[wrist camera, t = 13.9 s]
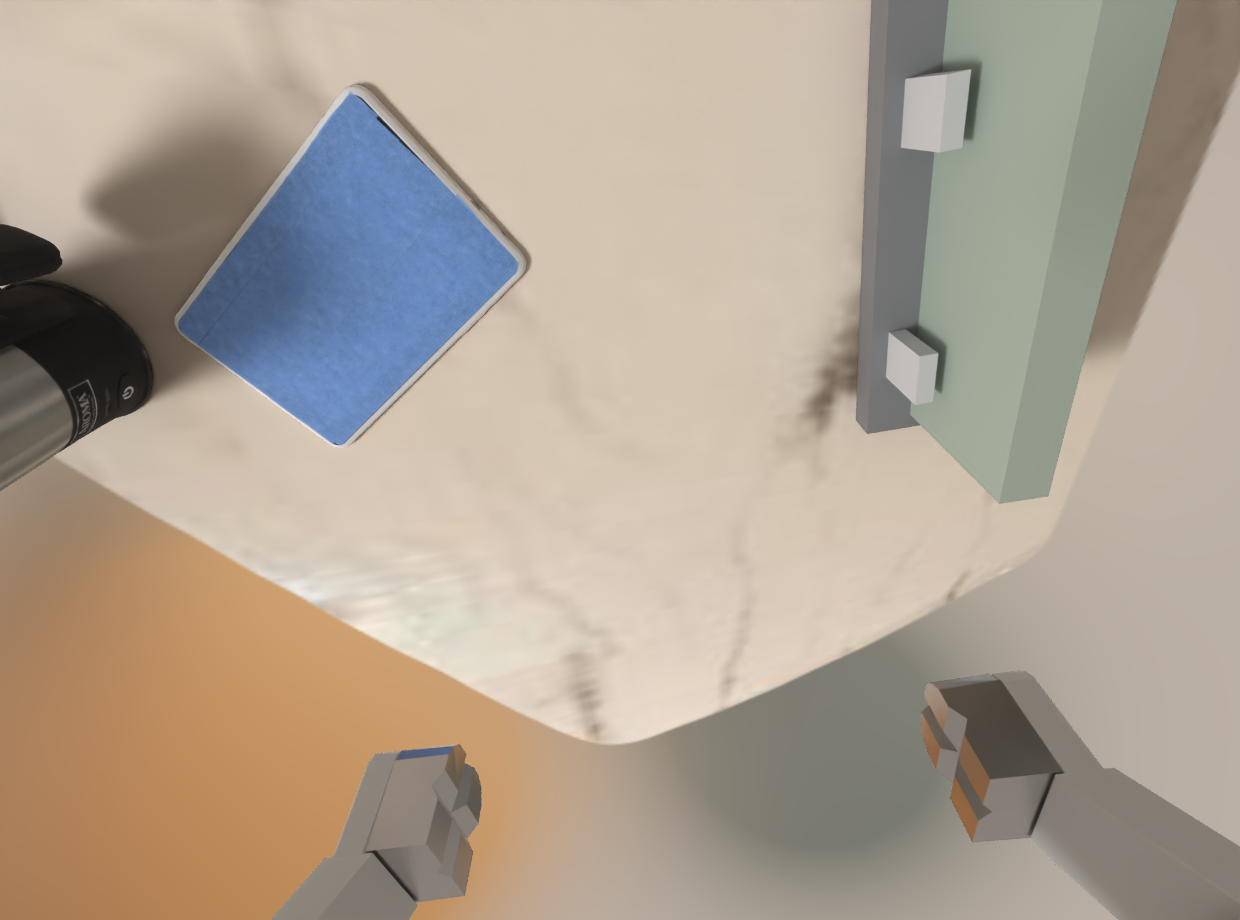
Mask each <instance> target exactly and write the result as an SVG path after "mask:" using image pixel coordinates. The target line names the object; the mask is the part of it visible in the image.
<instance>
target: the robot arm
mask: <svg viewBox="0 0 1240 920" xmlns="http://www.w3.org/2000/svg"><path fill="white" fill-rule="evenodd" d="M924 696H925V698H926V700H927V702H928V704H929V706H928V707H927V708H926V709H924V710H923V711H922V713H921V724H920V725H921V730H922V736H923V740H924V743H925V746H926V749H927V752H928V754H929V756H930V758H931V761H932V762H933V764H934V766H935V768H936V770H937V771H938V772H939V773H941V774H942V775H943V776H945V777H946V778H947V779H948V780H950V781H951V782H952V783H953V785H952V790H951V796H950V799H951V801H952V803H953V805H954V807H955V809H956V811H957V813H958V815H959V817H960V819H961V821H962V823H963V825H964V827H965V828H966V831H967V833H968V834H969V837H970V839H971V841H972V842H980V841H993V840H1006V839H1020V838H1030V842H1031V843H1032V844H1034V845H1035V846H1036V847H1037V848H1038V849H1039V850H1040V851H1041V852H1042V853H1044V854H1045V855H1046V856H1047V857H1048V858H1049V859H1050V860H1052V861H1053V862H1054V863H1055V864H1056V865H1057V866H1058V867H1059V868H1060V869H1062V870H1063V871H1064V872H1065V873H1066V874H1067V875H1068V876H1070V877H1071V878H1072V879H1073V880H1074V881H1075V882H1076V883H1077V884H1079V885H1080V886H1081V887H1082V888H1083V889H1084V890H1085V891H1086V892H1088V893H1089V894H1090V895H1091V896H1092V897H1093V898H1095V899H1096V900H1097V901H1098V902H1099V903H1100V904H1101V905H1102V906H1103V907H1105V908H1106V909H1107V910H1108V911H1109V912H1110V913H1111V914H1112V915H1114V916H1115V917H1116V918H1117V919H1118V920H1240V846H1238V845H1237V844H1235V843H1233V842H1232V841H1230V840H1229V839H1227V838H1225V837H1224V836H1222V835H1221V834H1219V833H1217V832H1216V831H1214V830H1213V829H1211V828H1209V827H1208V826H1206V825H1204V824H1203V823H1201V822H1200V821H1198V820H1196V819H1195V818H1193V817H1192V816H1190V815H1188V814H1187V813H1185V812H1184V811H1182V810H1181V809H1179V808H1177V807H1176V806H1174V805H1173V804H1171V803H1169V802H1168V801H1166V800H1165V799H1163V798H1161V797H1160V796H1158V795H1157V794H1155V793H1153V792H1151V791H1150V790H1149V789H1147V788H1145V787H1144V786H1142V785H1141V784H1139V783H1137V782H1136V781H1134V780H1133V779H1131V778H1129V777H1128V776H1126V775H1124V774H1123V773H1121V772H1120V771H1118V770H1117V769H1115V768H1106V769H1104V768H1103V767H1102V766H1101V765H1100V763H1099V762H1098V761H1097V759H1096V758H1095V757H1094V755H1093V754H1092V753H1091V752H1090V750H1089V749H1088V747H1087V746H1086V745H1085V744H1084V743H1083V741H1082V740H1081V738H1080V737H1079V736H1078V734H1077V733H1076V732H1075V730H1074V729H1073V728H1072V726H1071V725H1070V724H1069V723H1068V721H1067V720H1066V719H1065V717H1064V716H1063V715H1062V713H1061V712H1060V711H1059V709H1058V708H1057V707H1056V706H1055V704H1054V703H1053V702H1052V700H1051V699H1050V698H1049V696H1048V695H1047V694H1046V693H1045V691H1044V690H1043V689H1042V687H1041V686H1040V685H1039V683H1038V682H1037V681H1036V679H1035V678H1034V677H1033V676H1032V675H1030V674H1029V673H1028V672H1026V671H1020V670H1018V671H1011V672H1004V673H997V674H985V675H978V676H971V677H964V678H957V679H951V680H944V681H937V682H930V683H929V684H928V685H927V686H926V688H925V694H924ZM465 757H466V753H465V751H464V750H463V748H462V747H461V745H460V744H453V745H445V746H437V747H429V748H422V749H413V750H401V751H394V752H386V753H380V754H375V755H374V757H373V758H372V759H371V761H370V762H369V764H368V765H367V767H366V770H365V773H364V776H363V778H362V781H361V783H360V786H359V789H358V792H357V794H356V797H355V799H354V802H353V805H352V807H351V810H350V813H349V815H348V818H347V821H346V824H345V826H344V829H343V832H342V834H341V837H340V840H339V843H338V845H337V848H336V850H335V853H334V856H333V857H327V858H324V859H323V861H322V862H321V863H320V864H319V865H318V866H317V867H316V868H315V870H314V871H313V872H312V873H311V874H310V875H309V876H308V878H307V879H306V880H305V881H304V882H303V883H302V884H301V885H300V887H299V888H298V889H297V890H296V891H295V892H294V893H293V894H292V896H291V897H290V898H289V899H288V900H287V901H286V902H285V904H284V905H283V906H282V907H281V908H280V909H279V911H277V913H276V914H275V915H274V916H273V917H272V918H271V919H270V920H409V919H410V917H411V915H412V914H413V912H414V911H415V909H416V908H417V904H416V902H423V901H431V900H437V899H445V898H452V897H459V896H465V893H466V887H467V882H468V877H469V871H470V866H471V860H472V855H473V850H472V848H471V846H470V843H469V841H468V839H467V838H468V837H469V835H470V834H471V833H472V831H473V830H474V829H475V827H476V826H477V825H478V822H479V816H480V810H481V785H480V780H479V776H478V774H477V772H476V770H475V768H474V767H471V766H470V765H468V764H465V763H464V762H465Z"/></svg>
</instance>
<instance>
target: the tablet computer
mask: <svg viewBox="0 0 1240 920" xmlns="http://www.w3.org/2000/svg"><path fill="white" fill-rule="evenodd" d="M526 267H527V266H526V259H525V257H524V255H523V254H522V252H521V251H520V250H519V249H518V248H517V247H516V246H515V245H514V244H513V243H512V242H511V241H510V240H509V239H508V237H506V236H505V235H503V233H502V232H501V230H500V229H499V228H498V227H497V226H496V224H495V223H494V222H493V221H492V220H491V219H490V218H489V217H488V216H487V215H486V214H485V213H484V212H483V211H482V210H481V209H480V208H479V207H478V206H477V205H476V204H475V203H474V201H473V200H472V199H471V198H470V197H469V196H468V195H467V194H466V193H465V192H464V191H463V189H462V188H461V187H460V186H459V185H458V184H457V183H456V182H455V181H454V180H453V179H452V178H451V177H450V176H449V175H448V173H447V172H446V171H445V170H444V169H443V168H442V167H441V166H440V165H439V164H438V163H437V162H436V161H435V160H434V159H433V158H432V156H431V155H430V154H429V153H428V152H427V151H426V150H425V149H424V148H423V147H422V146H421V145H420V144H419V143H418V141H417V140H416V139H415V138H414V137H413V136H412V135H411V134H410V133H409V132H408V131H407V130H406V129H405V128H404V126H403V125H402V124H401V123H400V122H399V121H398V120H397V119H396V118H395V117H394V116H393V114H392V113H391V112H390V111H389V110H388V109H387V108H386V107H385V106H384V105H383V104H382V103H381V102H380V100H379V99H378V98H377V97H376V96H375V95H374V94H373V93H372V92H371V91H370V90H369V89H367V88H365V87H364V86H362V85H351V86H349V87H347V88H345V89H344V90H343V91H342V92H341V94H340V95H339V96H338V97H337V99H336V100H335V101H334V103H333V104H332V106H331V107H330V108H329V110H328V111H327V112H326V114H325V115H324V116H323V117H322V119H321V120H320V121H319V123H318V124H317V125H316V127H315V128H314V129H313V131H312V132H311V133H310V135H309V136H308V138H307V139H306V140H305V142H304V143H303V144H302V146H301V147H300V148H299V150H298V151H297V152H296V154H295V155H294V157H293V158H292V159H291V161H290V162H289V163H288V164H287V166H286V167H285V168H284V170H283V171H282V172H281V174H280V175H279V176H278V178H277V179H276V180H275V182H274V183H273V184H272V186H271V187H270V188H269V190H268V191H267V192H266V194H265V195H264V196H263V198H262V199H261V200H260V202H259V203H258V204H257V206H256V207H255V209H254V210H253V211H252V213H251V214H250V215H249V217H248V218H247V219H246V221H245V222H244V223H243V225H242V226H241V227H240V229H239V230H238V231H237V233H236V234H235V235H234V237H233V238H232V239H231V241H230V242H229V243H228V245H227V246H226V247H225V249H224V250H223V251H222V253H221V254H220V255H219V257H218V258H217V260H216V261H215V262H214V264H213V265H212V266H211V268H210V269H209V271H208V272H207V273H206V275H205V276H204V278H203V279H202V280H201V282H200V283H199V285H198V286H197V287H196V289H195V290H194V291H193V293H192V294H191V295H190V297H189V298H188V300H187V301H186V302H185V304H184V305H183V306H182V308H181V309H180V311H179V312H178V313H177V314H176V316H175V319H174V324H175V327H176V329H177V331H178V332H179V333H180V334H181V335H182V336H183V337H184V338H186V339H187V340H188V341H190V342H191V343H192V344H194V345H195V346H197V347H198V348H199V349H201V350H202V351H203V352H205V353H206V354H207V355H209V356H210V357H212V358H213V359H214V360H216V361H217V362H218V363H220V364H221V365H222V366H224V367H225V368H226V369H228V370H229V371H231V372H232V373H233V374H235V375H236V376H238V377H239V378H240V379H242V380H243V381H244V382H246V383H247V384H248V385H250V386H251V387H253V388H254V389H255V390H257V391H258V392H259V393H261V394H262V395H263V396H265V397H266V398H268V399H269V400H270V401H272V402H273V403H274V404H276V405H277V406H278V407H280V408H281V409H283V410H284V411H285V412H287V413H288V414H289V415H291V416H292V417H294V418H295V419H296V420H297V421H299V422H300V423H302V424H303V425H304V426H306V427H307V428H308V429H310V430H311V431H313V432H314V433H315V434H317V435H318V436H319V437H321V438H322V439H323V440H325V441H326V442H327V443H329V444H330V445H332V446H334V447H338V448H344V447H347V446H349V445H350V444H352V443H353V442H354V441H355V440H356V439H357V438H358V437H359V436H360V435H361V434H362V433H363V432H364V431H365V430H366V429H367V428H368V427H369V426H370V425H371V424H372V423H373V422H374V421H375V420H376V419H377V418H378V417H379V416H380V415H381V414H383V413H384V412H385V411H386V410H387V409H388V408H389V407H390V406H391V405H392V404H393V403H394V402H395V401H396V400H397V399H398V398H399V397H400V396H401V395H402V394H403V393H404V392H405V391H406V390H407V389H408V388H409V387H410V386H411V385H412V384H413V383H414V382H415V381H416V380H417V379H418V378H419V377H420V376H421V375H422V374H423V373H424V372H425V371H426V370H427V369H428V368H429V367H430V366H431V365H432V364H433V363H434V362H435V361H436V360H437V359H438V358H439V357H440V356H441V355H442V354H443V353H444V352H445V351H446V350H447V349H448V348H449V347H451V346H452V345H453V344H454V343H455V342H456V341H457V340H458V339H459V338H460V337H461V336H462V335H463V334H465V333H466V332H467V331H468V330H469V329H470V328H471V327H472V326H473V324H474V323H475V322H477V321H478V320H479V319H480V318H481V317H482V316H483V315H484V314H485V313H486V311H487V310H488V309H489V308H490V307H491V306H492V305H494V304H495V303H496V302H497V301H498V300H499V299H500V298H501V297H502V295H503V294H504V293H505V292H506V291H507V290H508V289H509V288H510V287H511V286H512V285H513V284H514V283H515V282H516V281H517V280H518V279H519V278H520V277H521V276H522V275H523V273H524V272H525V270H526Z"/></svg>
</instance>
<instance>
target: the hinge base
mask: <svg viewBox="0 0 1240 920" xmlns="http://www.w3.org/2000/svg"><path fill="white" fill-rule="evenodd" d="M948 1H949V0H872V4H871V31H870V58H869V85H868V112H867V139H866V166H865V193H864V220H863V247H862V274H861V301H860V328H859V355H858V382H857V409H856V421H857V422H858V423H859V424H860V426H861V427H862V428H863V429H864V431H865V432H866V433H867V434H870V433H876V432H882V431H888V430H894V429H900V428H906V427H912V426H918V425H920V424H919V423H918V422H917V421H916V420H915V419H914V418H913V417H912V416H911V415H910V409H911V402H912V403H913V404H914V405H918V404H924V403H930V402H933V396H934V388H935V379H936V370H937V362H938V353H937V352H936V351H935V350H933V349H932V348H931V347H929V346H928V345H927V344H925V343H924V342H922V341H921V340H920V339H918V338H917V334H918V323H919V313H920V302H921V291H922V280H923V270H924V259H925V248H926V237H927V227H928V216H929V205H930V194H931V184H932V173H933V162H934V152H939V153H940V152H945V151H950V150H955V149H959V148H962V145H963V137H964V128H965V119H966V111H967V102H968V93H969V85H970V76H971V69H968V70H960V71H951V72H942V65H943V55H944V44H945V33H946V23H947V12H948Z"/></svg>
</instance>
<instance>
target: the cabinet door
mask: <svg viewBox="0 0 1240 920" xmlns="http://www.w3.org/2000/svg"><path fill="white" fill-rule="evenodd" d="M1176 3H1177V0H949V1H948V12H947V23H946V33H945V44H944V55H943V65H942V72H951V71H960V70H968V69H971V76H970V85H969V93H968V102H967V111H966V119H965V128H964V137H963V145H962V148H959V149H955V150H950V151H945V152H940V153H939V152H934V162H933V173H932V184H931V194H930V205H929V216H928V227H927V237H926V248H925V259H924V270H923V280H922V291H921V302H920V313H919V323H918V334H917V338H918V339H920V340H921V341H922V342H924V343H925V344H927V345H928V346H929V347H931V348H932V349H933V350H935V351H936V352H937V353H938V362H937V370H936V379H935V388H934V396H933V402H930V403H924V404H918V405H914V404H913V403H912V402H911V409H910V415H911V416H912V417H913V418H914V419H915V420H916V421H917V422H918V423H919V424H920V425H921V426H922V427H923V428H924V429H925V430H926V431H927V432H928V433H929V434H930V435H931V436H932V437H933V438H934V439H935V440H936V441H937V442H938V443H939V444H940V445H941V446H942V447H943V448H944V449H945V450H946V451H947V452H948V453H949V454H950V455H951V456H952V457H953V458H954V459H955V460H956V461H957V462H958V463H959V464H960V465H961V466H962V467H963V468H964V469H965V470H966V471H967V472H968V473H969V474H970V475H971V476H972V477H973V478H974V479H975V480H976V481H977V482H978V483H979V484H980V485H981V486H982V487H983V488H984V489H985V490H986V491H987V492H988V493H989V494H990V495H991V496H992V497H993V498H994V499H995V500H996V501H997V502H998V503H999V504H1001V503H1008V502H1014V501H1021V500H1027V499H1034V498H1040V497H1047V496H1048V495H1049V491H1050V488H1051V484H1052V480H1053V476H1054V472H1055V468H1056V464H1057V461H1058V457H1059V453H1060V449H1061V445H1062V441H1063V438H1064V434H1065V430H1066V426H1067V422H1068V418H1069V414H1070V411H1071V407H1072V403H1073V399H1074V395H1075V391H1076V388H1077V384H1078V380H1079V376H1080V372H1081V368H1082V364H1083V361H1084V357H1085V353H1086V349H1087V345H1088V341H1089V338H1090V334H1091V330H1092V326H1093V322H1094V318H1095V314H1096V311H1097V307H1098V303H1099V299H1100V295H1101V291H1102V288H1103V284H1104V280H1105V276H1106V272H1107V268H1108V264H1109V261H1110V257H1111V253H1112V249H1113V245H1114V241H1115V238H1116V234H1117V230H1118V226H1119V222H1120V218H1121V214H1122V211H1123V207H1124V203H1125V199H1126V195H1127V191H1128V188H1129V184H1130V180H1131V176H1132V172H1133V168H1134V164H1135V161H1136V157H1137V153H1138V149H1139V145H1140V141H1141V138H1142V134H1143V130H1144V126H1145V122H1146V118H1147V114H1148V111H1149V107H1150V103H1151V99H1152V95H1153V91H1154V88H1155V84H1156V80H1157V76H1158V72H1159V68H1160V64H1161V61H1162V57H1163V53H1164V49H1165V45H1166V41H1167V38H1168V34H1169V30H1170V26H1171V22H1172V18H1173V14H1174V11H1175V7H1176Z"/></svg>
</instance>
